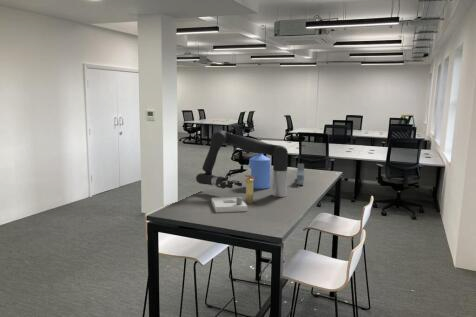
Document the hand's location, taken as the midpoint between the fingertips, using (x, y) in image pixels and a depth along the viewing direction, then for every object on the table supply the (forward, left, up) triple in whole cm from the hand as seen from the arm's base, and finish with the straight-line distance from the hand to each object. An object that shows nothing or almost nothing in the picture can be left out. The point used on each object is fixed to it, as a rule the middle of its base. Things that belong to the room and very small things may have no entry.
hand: (237, 185), depth 244 cm
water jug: (-35, +23, -9) cm, 43 cm away
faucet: (-48, +59, -9) cm, 77 cm away
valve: (+9, +6, -9) cm, 14 cm away
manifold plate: (+16, -8, -9) cm, 20 cm away
